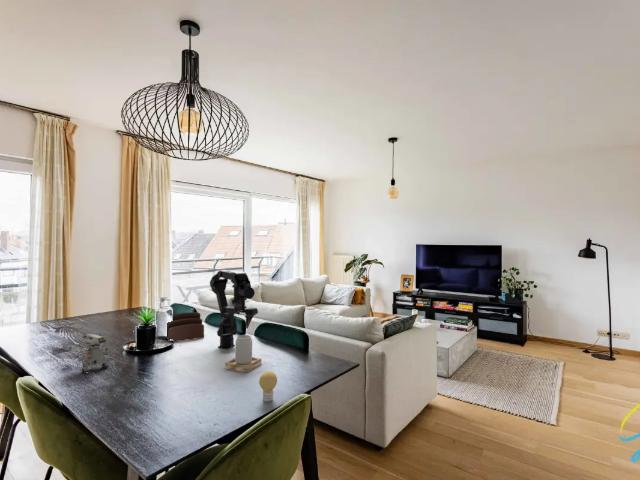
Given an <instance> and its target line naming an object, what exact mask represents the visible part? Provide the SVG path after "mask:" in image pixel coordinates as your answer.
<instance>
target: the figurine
mask: <svg viewBox="0 0 640 480" xmlns="http://www.w3.org/2000/svg"><path fill="white" fill-rule="evenodd" d="M107 341H108V340H107V337H104V336H102V334H94V333H86V334H84V335H83V336H82V338H81V339H80V342H81V343H83V344H85V345H87V347H88V348H87V349H86V350H83V352H84V354H83V356H81V357H80V356H79V355H78V354H77V355H76V358H77V359H78V360H77V362H82V361H83V362H82V367H81V372H82V371H84V372H85V373H86V372H89V367H92V366H97V365H101V367H102V366H103V367H104V369H105V368H107V369H109V358H108V355H109V353H108V352H109V351H108V346H106V345H103V346H101V344H104V343H106V342H107ZM103 367H102V368H103Z"/></svg>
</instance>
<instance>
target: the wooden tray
mask: <svg viewBox="0 0 640 480" xmlns="http://www.w3.org/2000/svg"><path fill="white" fill-rule="evenodd" d="M224 365H225V366H224V369H225V370H231V371H237V372H242V373H249V372H250V371H252V370H254V369H256V368H257V367H259V366H260V365H262V358H261V357H255V356H254V357H253V356H252V361H251V362H250V363H249V364H247V365H238V364H237V363H236V362H235V357H234V358H232V359H230V360H229V361H226V362H225V363H224Z"/></svg>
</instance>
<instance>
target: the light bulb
mask: <svg viewBox="0 0 640 480" xmlns="http://www.w3.org/2000/svg"><path fill="white" fill-rule="evenodd" d="M258 382H259V383H258V384H259V386H260V388H261V390H262V401H264V402H266V403H268V402H271V401H273V400H274V389H275V387H276V386H277V384H278V376H277V375H276V373H275V372H272V371H264V372H263V373H262V374H261V375H260V376H259V379H258Z"/></svg>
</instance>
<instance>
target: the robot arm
mask: <svg viewBox="0 0 640 480" xmlns="http://www.w3.org/2000/svg"><path fill="white" fill-rule="evenodd" d="M229 280H230V283H232V284H233V285H232V286H231V287H232V288H233V298H232V299H231V303H229V304H228V299H227V295H226V290H227V284H228V282H229ZM209 286H210V289H211V291H212V293H214V294H215V296H216V300H217V304H218V309H219V313H220V318H221V320H220V322H219V328H218V330H217V331H216V335H217V337H219V346H218V347H217V348H219V349H220V348H221V349H230V348H233V347H236V344H234V343H235V341H234V340H235V339H234V336H235V335H236V334H237V331H238V330H237V329H238V325H237V322H236V318H235V314H237V313H243V314H245V315H244V317H245V328H246V329H249V327H250V324H251V322H252V319H253V318H254V316H256V315H257V314H258V313H259V310H258V308H257V307H248V306H246V301H247V300H251V299H253V297H254V296H255V295H256V294H255V293H256V292H255V290H254V288H253V287H252V285H251V281H250V279H249V275H248V274H247V272H245V271H241V272H240V271H238V272H237V271H236V272H235V271H230V270H227V269H220V270H218V271H217V273H215V274H214V275H213V276H212V277H211V279H210V281H209ZM247 307H248V308H247Z"/></svg>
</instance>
